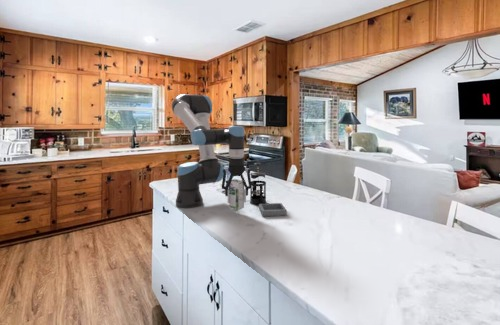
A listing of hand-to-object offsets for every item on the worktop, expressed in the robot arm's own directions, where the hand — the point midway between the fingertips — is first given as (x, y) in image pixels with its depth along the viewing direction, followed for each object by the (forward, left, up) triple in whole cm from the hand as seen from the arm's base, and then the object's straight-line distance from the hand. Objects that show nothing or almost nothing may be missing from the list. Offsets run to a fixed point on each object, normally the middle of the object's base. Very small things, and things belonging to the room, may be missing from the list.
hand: (236, 201), depth 145 cm
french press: (+13, +19, -6) cm, 24 cm away
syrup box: (0, 0, -3) cm, 3 cm away
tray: (+18, 0, -6) cm, 19 cm away
